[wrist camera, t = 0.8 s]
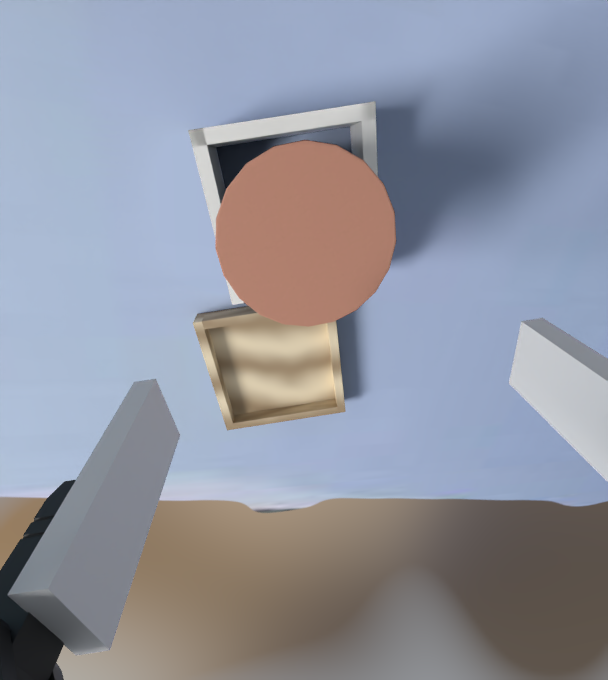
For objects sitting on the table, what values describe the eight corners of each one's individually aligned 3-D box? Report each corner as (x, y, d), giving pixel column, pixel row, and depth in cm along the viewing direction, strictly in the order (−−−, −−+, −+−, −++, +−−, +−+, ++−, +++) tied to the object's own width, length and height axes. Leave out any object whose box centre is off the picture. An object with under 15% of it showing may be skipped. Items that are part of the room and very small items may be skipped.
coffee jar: (358, 169, 35) (428, 176, 19) (325, 269, 39) (359, 343, 23) (254, 134, 33) (234, 107, 17) (232, 243, 37) (200, 305, 21)
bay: (200, 134, 32) (188, 130, 28) (361, 109, 32) (375, 101, 28) (237, 288, 39) (232, 304, 35) (369, 268, 39) (381, 281, 35)
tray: (197, 314, 40) (192, 322, 38) (330, 293, 40) (334, 300, 38) (229, 417, 48) (227, 430, 46) (342, 400, 48) (345, 411, 46)
